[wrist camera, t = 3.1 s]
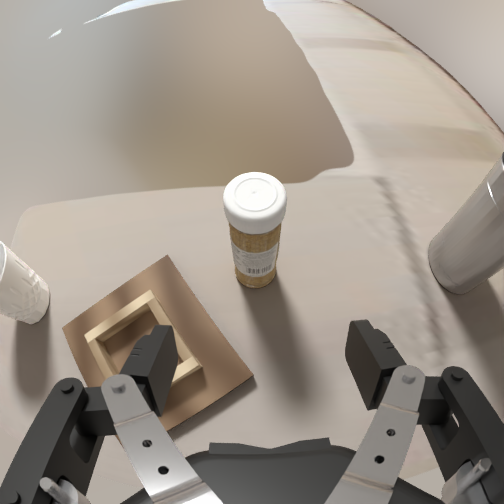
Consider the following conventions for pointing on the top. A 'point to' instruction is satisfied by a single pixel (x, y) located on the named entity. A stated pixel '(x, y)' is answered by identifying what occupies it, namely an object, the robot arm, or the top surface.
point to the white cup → (21, 289)
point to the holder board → (142, 323)
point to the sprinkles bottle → (255, 225)
